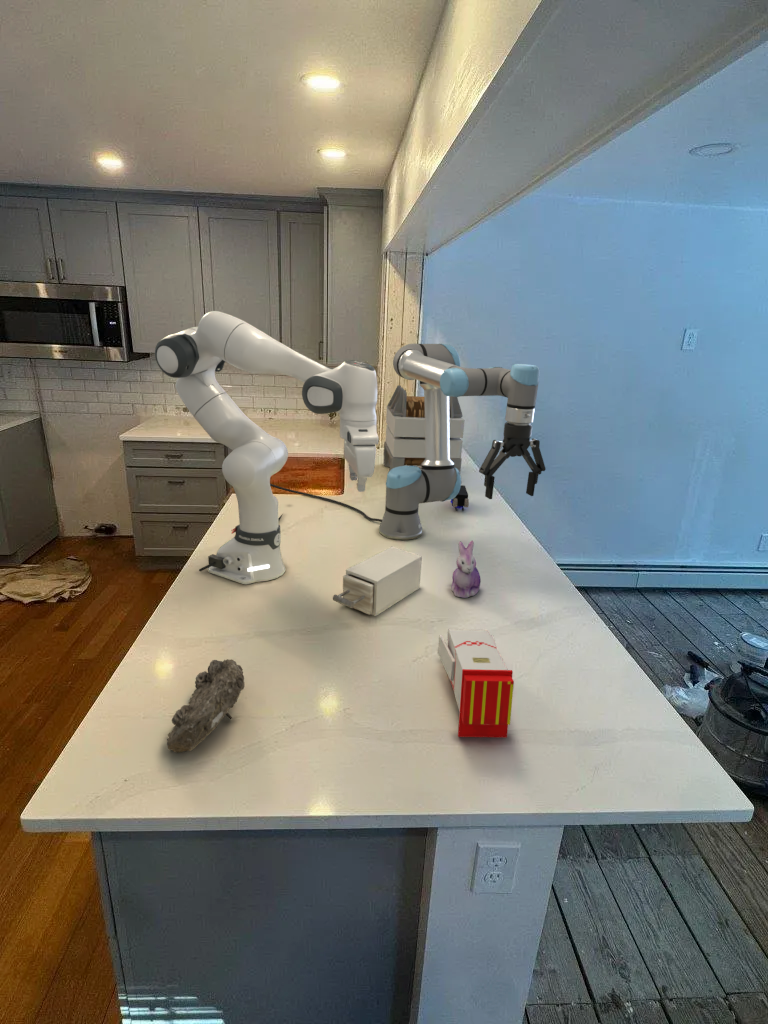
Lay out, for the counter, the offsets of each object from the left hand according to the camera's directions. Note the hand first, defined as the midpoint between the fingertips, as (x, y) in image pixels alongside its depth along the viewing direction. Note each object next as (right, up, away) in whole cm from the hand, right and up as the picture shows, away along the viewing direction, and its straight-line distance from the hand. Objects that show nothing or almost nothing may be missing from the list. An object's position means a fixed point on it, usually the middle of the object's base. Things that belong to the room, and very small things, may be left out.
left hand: (357, 485), depth 141 cm
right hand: (+43, -2, +21) cm, 48 cm away
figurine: (+30, -29, +20) cm, 46 cm away
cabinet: (+7, -30, +15) cm, 34 cm away
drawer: (+3, -30, +11) cm, 32 cm away
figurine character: (+37, -5, +88) cm, 96 cm away
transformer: (+24, +12, +133) cm, 136 cm away
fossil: (-26, -46, -33) cm, 62 cm away
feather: (-31, -9, +68) cm, 76 cm away
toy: (+25, -44, -23) cm, 56 cm away
